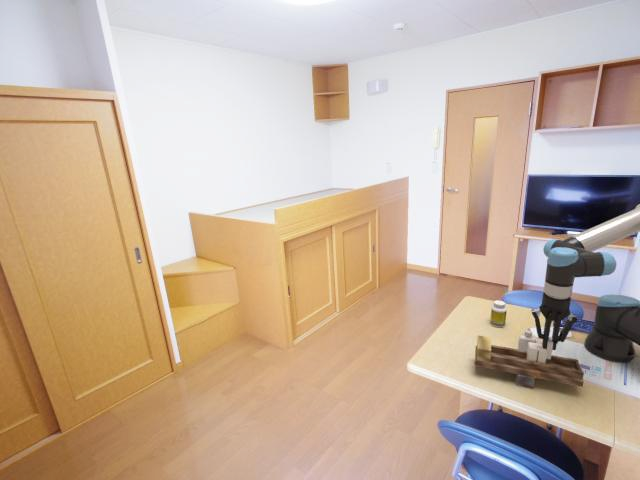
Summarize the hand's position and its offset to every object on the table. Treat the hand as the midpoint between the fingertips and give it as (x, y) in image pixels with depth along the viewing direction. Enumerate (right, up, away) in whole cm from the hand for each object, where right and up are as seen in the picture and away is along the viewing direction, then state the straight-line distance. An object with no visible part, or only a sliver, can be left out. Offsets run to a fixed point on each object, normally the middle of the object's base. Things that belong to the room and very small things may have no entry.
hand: (547, 356), depth 116 cm
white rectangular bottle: (+3, -5, +17) cm, 18 cm away
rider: (-3, -3, +2) cm, 5 cm away
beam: (-5, -9, +5) cm, 12 cm away
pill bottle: (+4, +1, +40) cm, 40 cm away
